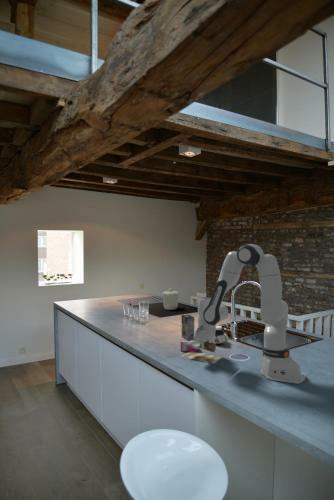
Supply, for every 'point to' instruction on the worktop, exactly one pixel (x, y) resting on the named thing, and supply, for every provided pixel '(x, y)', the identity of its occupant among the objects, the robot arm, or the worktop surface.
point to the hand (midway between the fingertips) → (205, 346)
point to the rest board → (202, 357)
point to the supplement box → (186, 347)
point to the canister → (170, 299)
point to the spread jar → (219, 336)
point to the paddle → (208, 345)
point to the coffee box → (187, 327)
